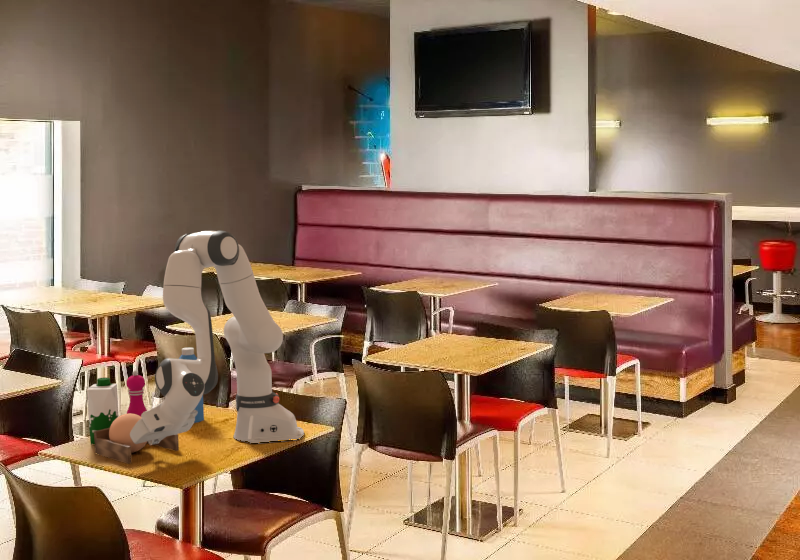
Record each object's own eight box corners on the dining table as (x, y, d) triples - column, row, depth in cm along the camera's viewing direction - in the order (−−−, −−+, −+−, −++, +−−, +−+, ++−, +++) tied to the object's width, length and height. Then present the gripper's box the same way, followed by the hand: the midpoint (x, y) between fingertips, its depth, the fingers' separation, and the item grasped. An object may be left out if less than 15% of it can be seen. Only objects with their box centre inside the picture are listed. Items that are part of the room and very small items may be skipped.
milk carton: (122, 437, 336) (119, 377, 334) (114, 445, 327) (111, 382, 325) (94, 438, 336) (91, 377, 334) (86, 445, 327) (83, 383, 325)
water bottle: (195, 415, 365) (192, 345, 362) (209, 420, 358) (206, 348, 355) (171, 420, 358) (168, 348, 356) (185, 424, 352) (182, 352, 349)
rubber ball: (150, 411, 325) (145, 448, 326) (111, 407, 321) (105, 445, 322) (153, 421, 314) (147, 459, 315) (112, 417, 310) (106, 456, 311)
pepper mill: (137, 433, 341) (134, 373, 339) (121, 430, 345) (119, 371, 343) (153, 428, 347) (151, 369, 345) (138, 426, 351) (135, 367, 349)
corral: (178, 450, 320) (177, 427, 320) (128, 463, 307) (127, 440, 306) (145, 441, 332) (144, 419, 331) (95, 453, 318) (93, 431, 317)
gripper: (194, 400, 315) (176, 427, 322) (137, 413, 299) (119, 441, 307) (204, 417, 312) (185, 443, 320) (147, 431, 297) (129, 458, 304)
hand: (152, 442), depth 313 cm, fingers closed
